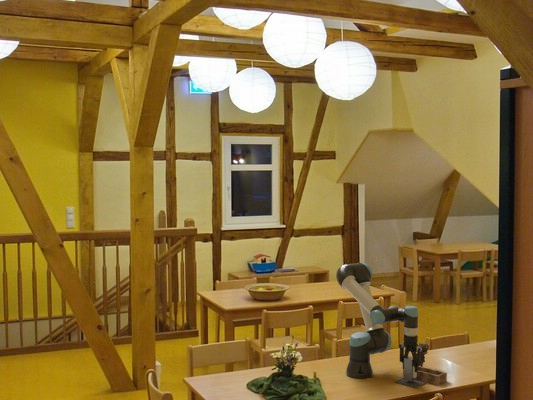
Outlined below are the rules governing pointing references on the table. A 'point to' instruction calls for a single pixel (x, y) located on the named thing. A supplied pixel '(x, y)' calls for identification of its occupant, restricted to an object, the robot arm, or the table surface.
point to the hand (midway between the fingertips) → (410, 376)
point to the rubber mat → (410, 383)
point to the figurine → (423, 352)
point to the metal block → (408, 369)
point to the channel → (431, 375)
